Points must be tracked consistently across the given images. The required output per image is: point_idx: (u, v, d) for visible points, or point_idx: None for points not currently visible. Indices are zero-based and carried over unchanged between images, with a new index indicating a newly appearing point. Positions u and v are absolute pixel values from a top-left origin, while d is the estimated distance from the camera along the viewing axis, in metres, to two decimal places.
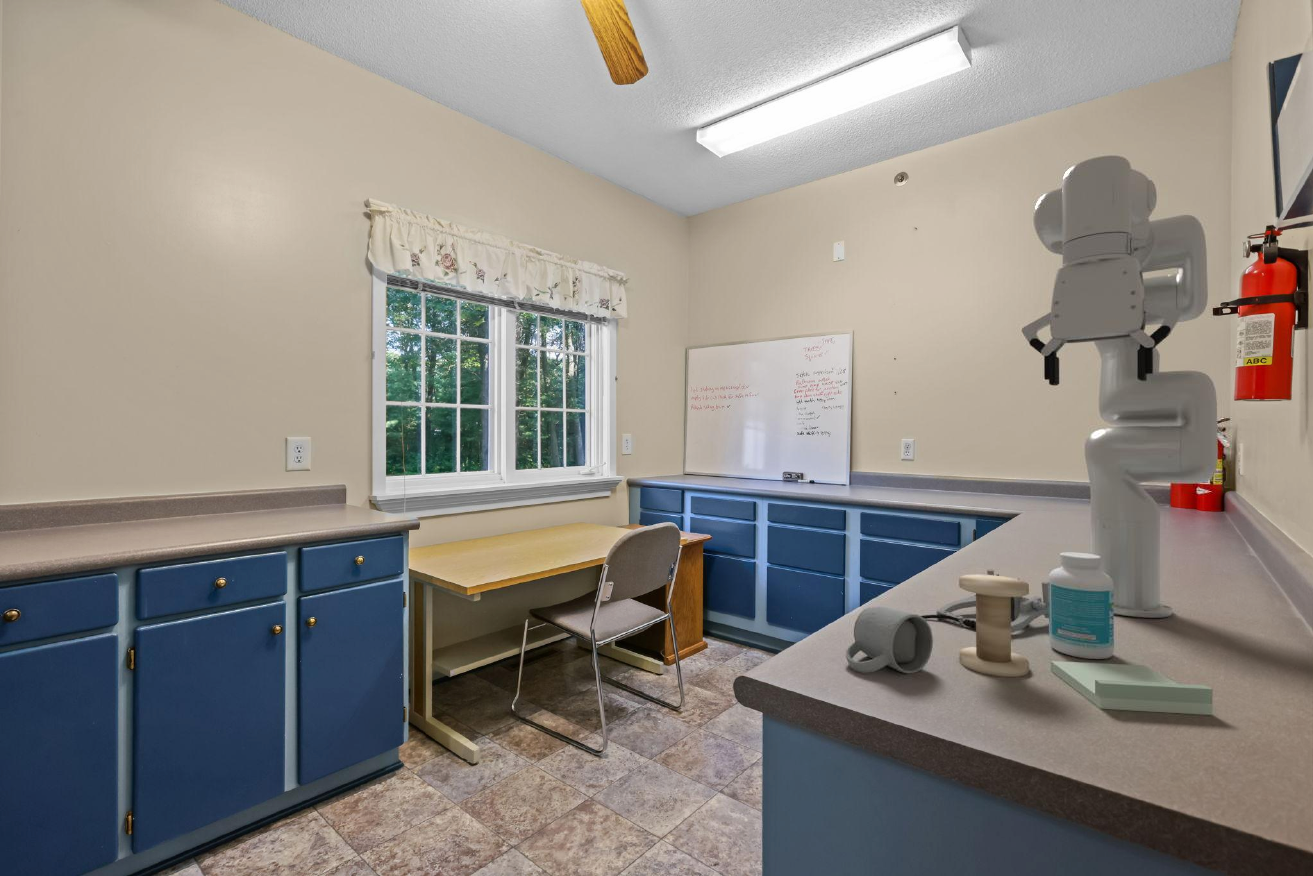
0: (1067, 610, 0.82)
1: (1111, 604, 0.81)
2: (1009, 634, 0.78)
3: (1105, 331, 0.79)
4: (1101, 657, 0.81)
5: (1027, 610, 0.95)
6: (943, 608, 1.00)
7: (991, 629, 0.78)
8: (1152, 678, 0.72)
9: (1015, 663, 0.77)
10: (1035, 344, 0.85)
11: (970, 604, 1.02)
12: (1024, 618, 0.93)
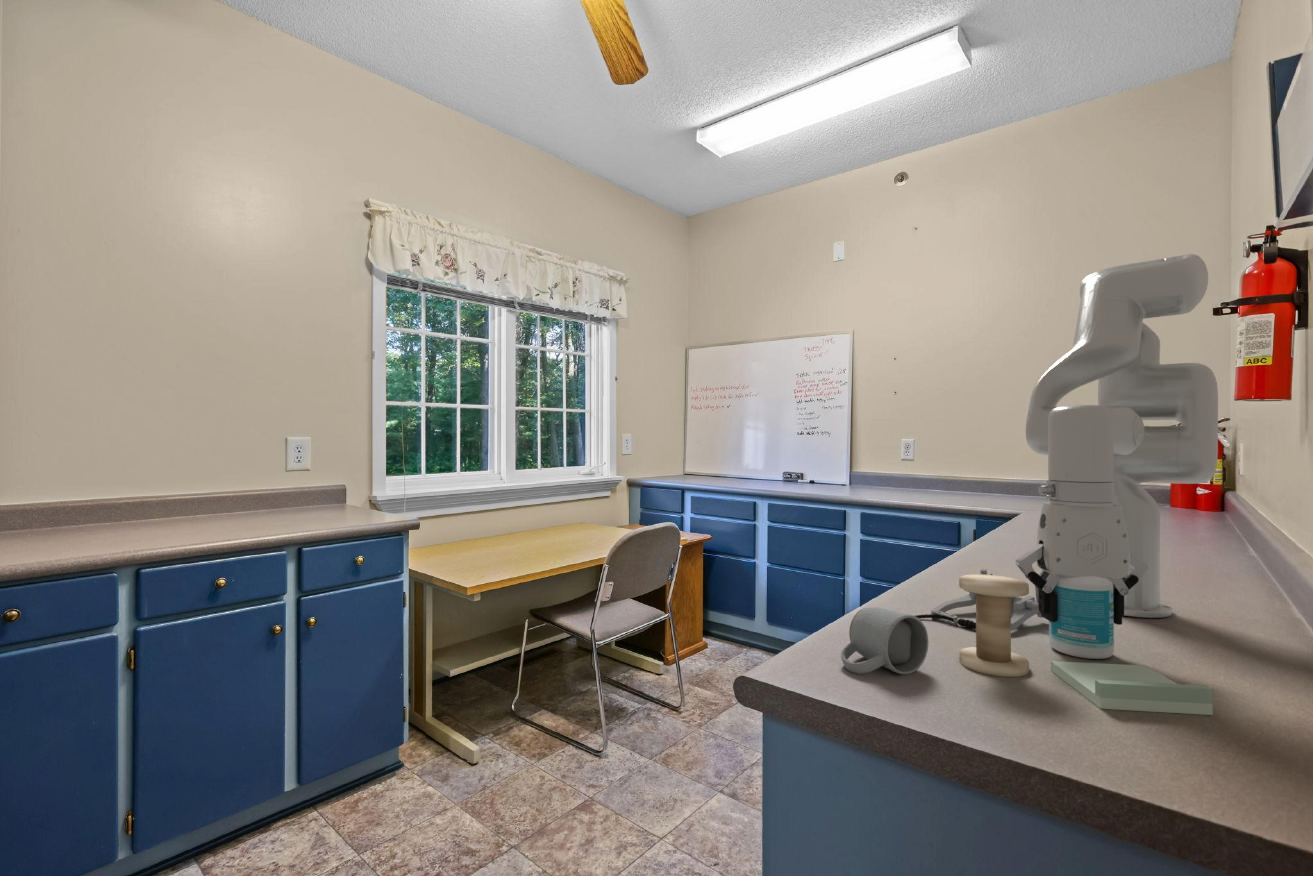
0: (1067, 610, 0.82)
1: (1111, 604, 0.81)
2: (1009, 634, 0.78)
3: None
4: (1101, 657, 0.81)
5: (1020, 609, 0.95)
6: (937, 608, 1.01)
7: (991, 629, 0.78)
8: (1152, 678, 0.72)
9: (1015, 663, 0.77)
10: None
11: (964, 604, 1.02)
12: (1018, 617, 0.93)
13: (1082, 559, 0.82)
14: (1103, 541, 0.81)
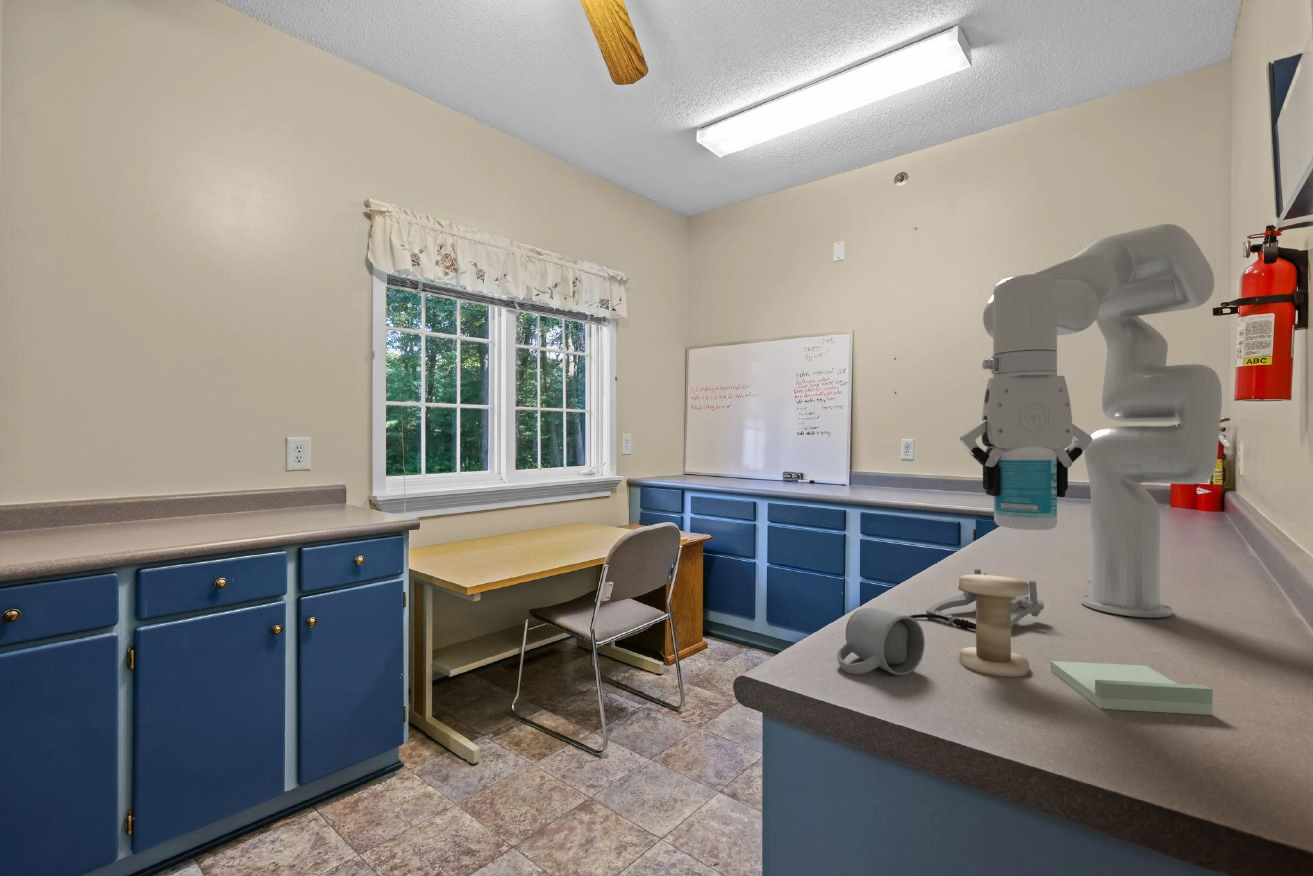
0: (1009, 482, 0.81)
1: (1054, 475, 0.80)
2: (1009, 634, 0.78)
3: None
4: (1042, 527, 0.79)
5: (1015, 608, 0.96)
6: (932, 607, 1.01)
7: (991, 629, 0.78)
8: (1152, 678, 0.72)
9: (1015, 663, 0.77)
10: None
11: (958, 603, 1.02)
12: (1013, 617, 0.94)
13: (1024, 429, 0.81)
14: (1045, 411, 0.80)
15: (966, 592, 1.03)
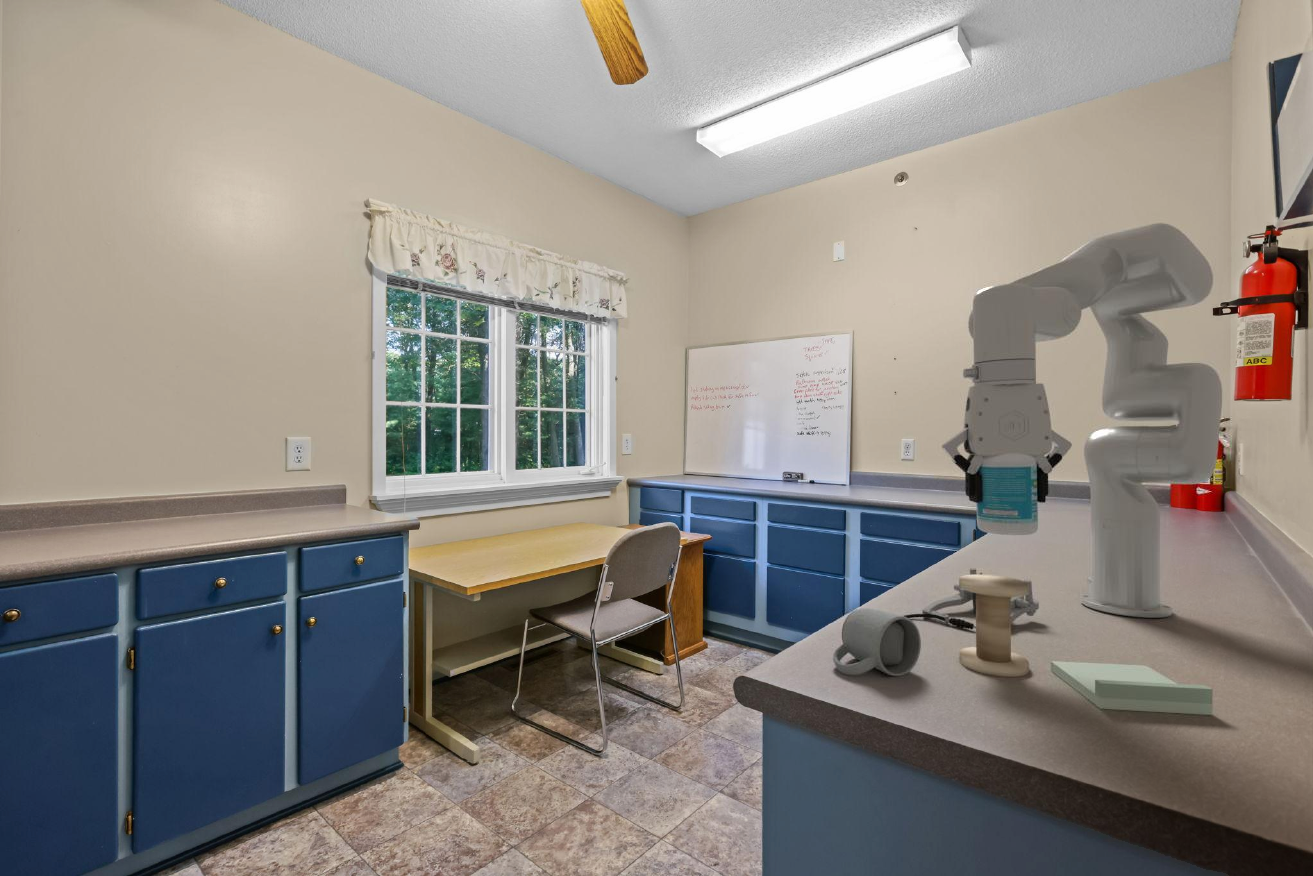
0: (990, 488, 0.83)
1: (1034, 481, 0.82)
2: (1009, 634, 0.78)
3: None
4: (1023, 532, 0.81)
5: None
6: (928, 607, 1.01)
7: (991, 629, 0.78)
8: (1152, 678, 0.72)
9: (1015, 663, 0.77)
10: None
11: (954, 603, 1.03)
12: None
13: (1004, 437, 0.82)
14: (1024, 418, 0.82)
15: (962, 592, 1.03)
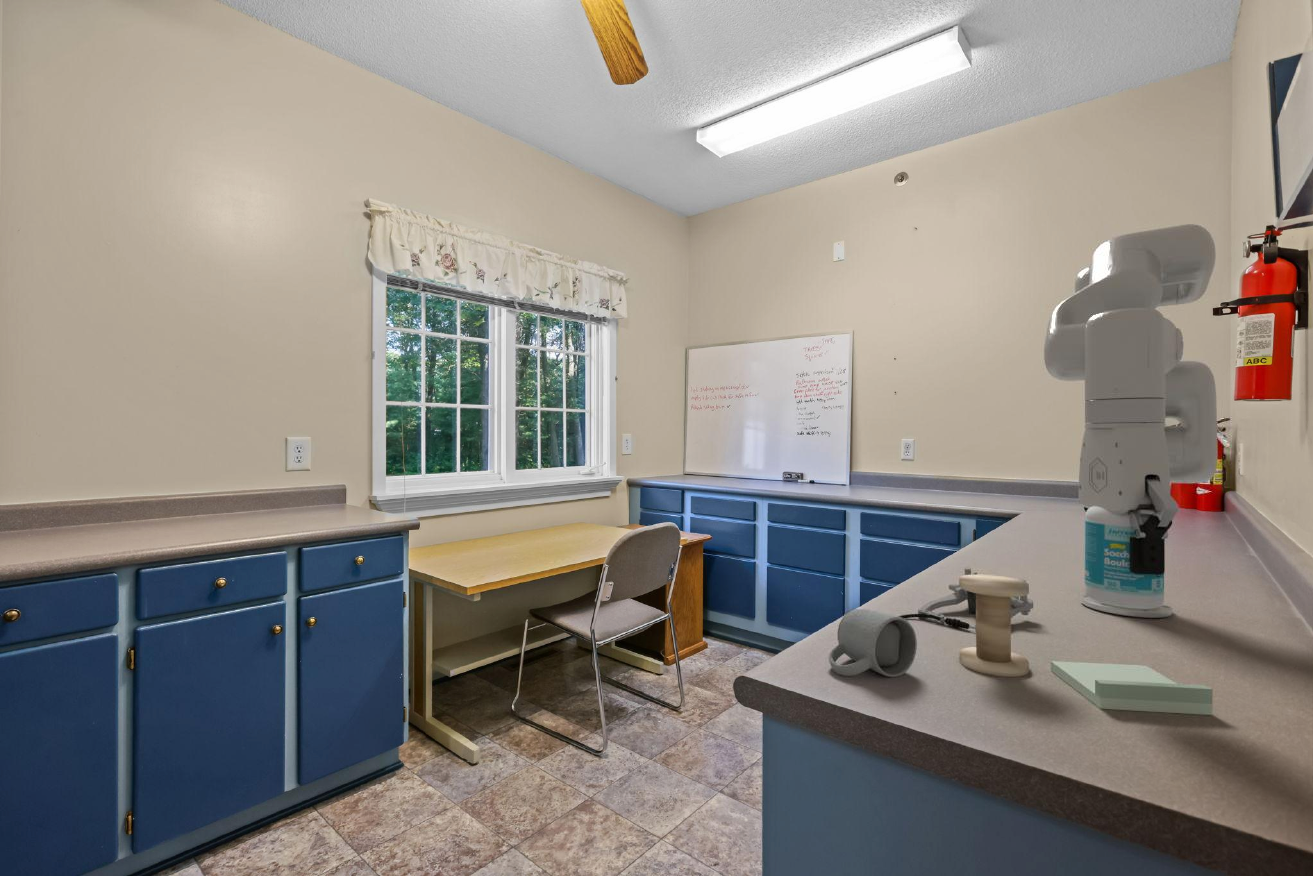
0: None
1: (1111, 542, 0.69)
2: (1009, 634, 0.78)
3: None
4: (1093, 597, 0.71)
5: None
6: (924, 607, 1.01)
7: (991, 629, 0.78)
8: (1152, 678, 0.72)
9: (1015, 663, 0.77)
10: None
11: (949, 602, 1.03)
12: None
13: (1092, 488, 0.73)
14: (1104, 468, 0.70)
15: (957, 591, 1.03)
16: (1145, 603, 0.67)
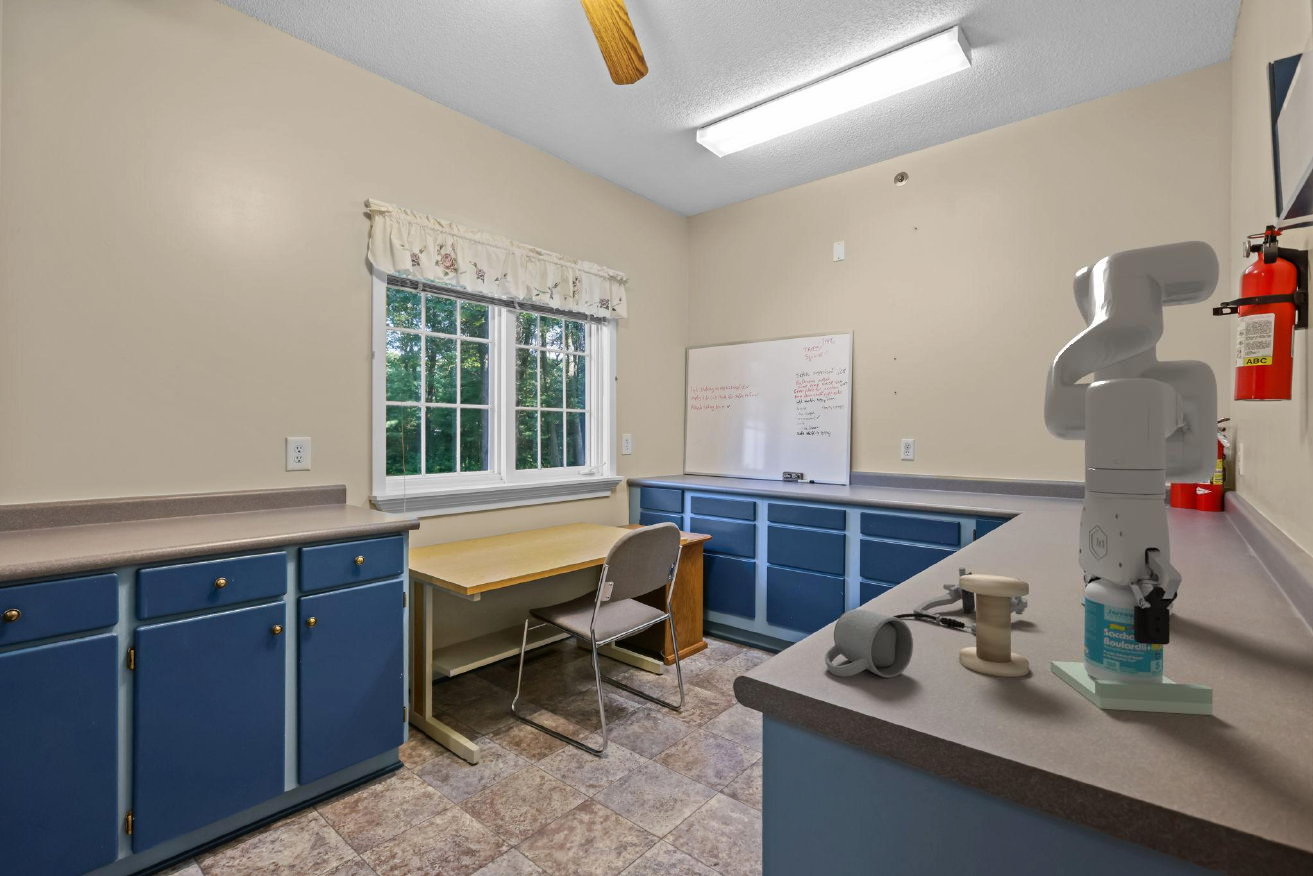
0: None
1: (1110, 623, 0.69)
2: (1009, 634, 0.78)
3: None
4: (1093, 675, 0.71)
5: None
6: (919, 607, 1.01)
7: (991, 629, 0.78)
8: None
9: (1015, 663, 0.77)
10: None
11: (944, 602, 1.03)
12: None
13: (1092, 554, 0.73)
14: (1104, 537, 0.70)
15: (951, 591, 1.04)
16: None
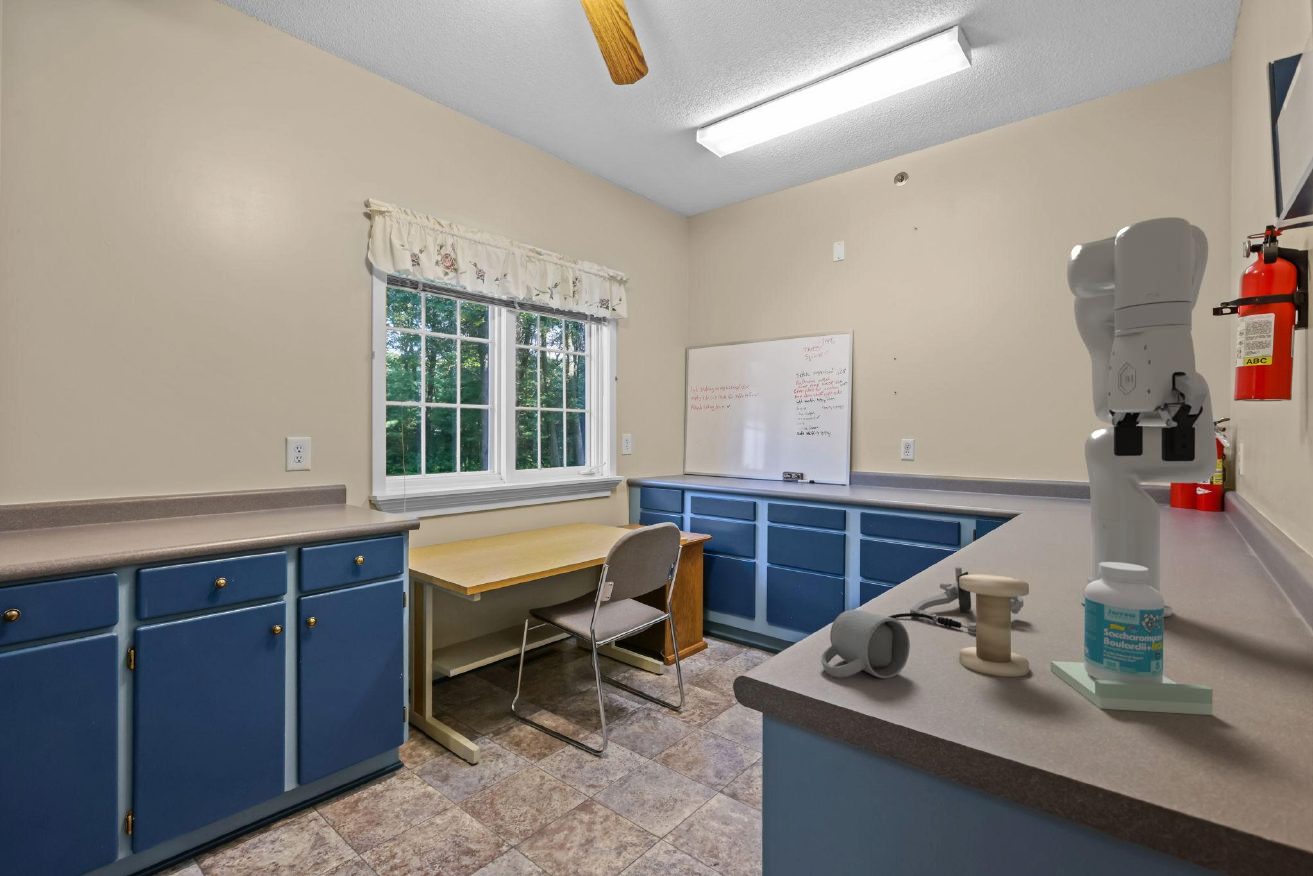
0: None
1: (1110, 623, 0.69)
2: (1009, 634, 0.78)
3: None
4: (1093, 675, 0.71)
5: None
6: (916, 606, 1.01)
7: (991, 629, 0.78)
8: None
9: (1015, 663, 0.77)
10: None
11: (941, 601, 1.03)
12: None
13: (1121, 392, 0.78)
14: (1133, 371, 0.75)
15: (948, 590, 1.04)
16: None
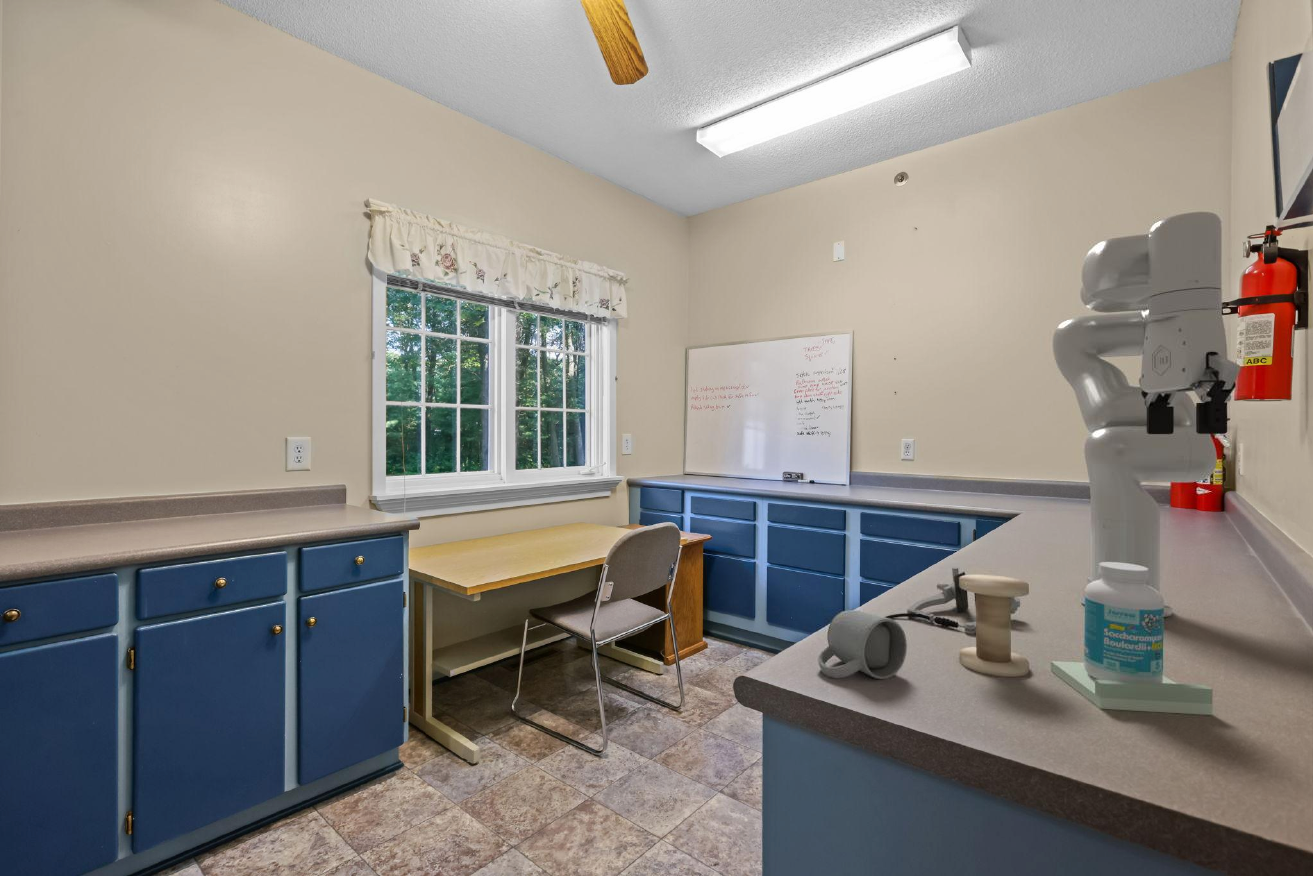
0: None
1: (1110, 623, 0.69)
2: (1009, 634, 0.78)
3: None
4: (1093, 675, 0.71)
5: None
6: (913, 606, 1.01)
7: (991, 629, 0.78)
8: None
9: (1015, 663, 0.77)
10: None
11: (938, 602, 1.03)
12: None
13: (1155, 372, 0.84)
14: (1168, 352, 0.81)
15: (945, 591, 1.04)
16: None
